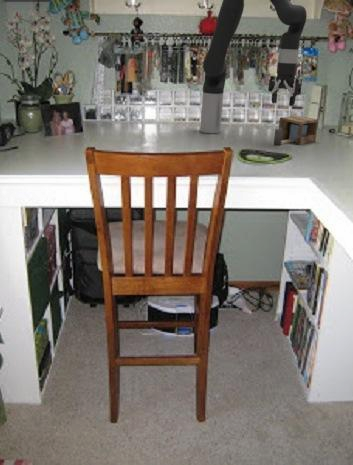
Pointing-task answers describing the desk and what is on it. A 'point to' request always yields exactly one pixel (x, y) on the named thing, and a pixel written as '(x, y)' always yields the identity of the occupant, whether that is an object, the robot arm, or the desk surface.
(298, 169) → the desk surface
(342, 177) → the desk surface
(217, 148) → the desk surface
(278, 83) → the robot arm
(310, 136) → the shelf
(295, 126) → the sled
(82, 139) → the desk surface
